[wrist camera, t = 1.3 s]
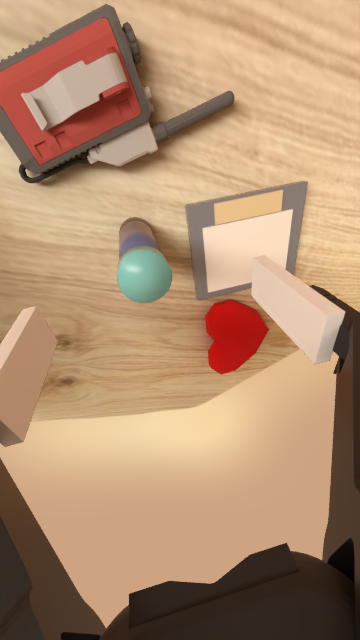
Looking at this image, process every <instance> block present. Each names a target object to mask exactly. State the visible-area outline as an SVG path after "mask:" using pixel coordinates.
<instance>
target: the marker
mask: <svg viewBox="0 0 360 640" xmlns="http://www.w3.org/2000/svg"><path fill="white" fill-rule="evenodd" d="M119 258H120V260H119V263H118V270H117V280H118V285H119V288H120V290H121V291H122V292H123V294H124V295H125V296H126V297H128V298H129V299H131V300H133V301H136V302H141V303H148V302H153V301H156V300H158V299H160V298H161V297H162V296H164V295H165V294H166V292H167V291H168V290H169V288H170V285H171V282H172V273H171V269H170V267H169V265H168V263H167V260H166V258H165V257H164V256H163V254H162V253H161V251H160V249H159V247H158V244H157V242H156V240H155V237H154V235H153V233H152V230H151V228H150V226H149V224H148V223H147V222H146V221H145V220H143V219H141V218H137V217H133V218H129V219H127V220H126V221H124V222H123V224H122V225H121V227H120V231H119Z"/></svg>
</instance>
